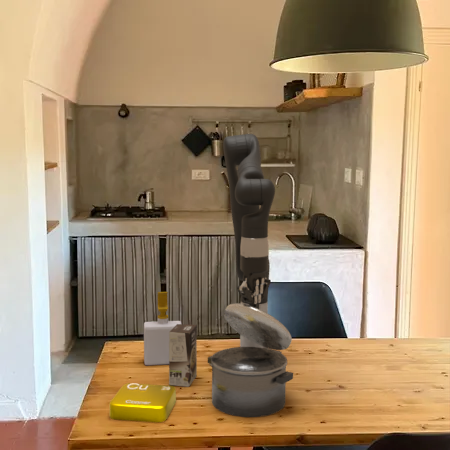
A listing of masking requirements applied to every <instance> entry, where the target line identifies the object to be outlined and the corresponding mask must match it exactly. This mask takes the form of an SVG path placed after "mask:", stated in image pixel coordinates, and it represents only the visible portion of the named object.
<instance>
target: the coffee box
mask: <svg viewBox="0 0 450 450" xmlns="http://www.w3.org/2000/svg"><path fill="white" fill-rule="evenodd" d="M197 328H198V327H197V324H188V323H187V324H182V323H181V324H177V325H176V326H175V327H174V328H173V329H172V330H171V331H170V332H169V364H168V386H179V387H186V388H188V387H190V386H191V385H192V383H193V381H194V380H195V379H196V377H197V372H198V371H197V366H198V365H197V364H198V363H197V361H198V359H197V357H198V356H197V355H198V352H197V348H198V347H197V346H198V344H197V343H198V342H197V341H198V339H197V337H198V336H197V334H198V333H197Z"/></svg>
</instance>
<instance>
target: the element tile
mask: <svg viewBox="0 0 450 450" xmlns="http://www.w3.org/2000/svg"><path fill="white" fill-rule="evenodd" d="M176 391H177V389H176V387H175V385H169V384H168V385H163V384H150V383H135V382H134V383H133V382H132V383H130V382H127V383H125V384H124V383H123V385H122V386H121V387H120V388H119V389H118V391H117V392H116V393H115V395H114V396H113V397H112V399H110V401H109V419H111V420H116V421H130V422H131V421H133V422H144V423H145V422H146V423H162V422H163V421H164V422H166V421H167V420H168V418H169V416H170V414H171V412H172V410H173V408H174V407H175V404H176V401H177V394H176V393H177V392H176ZM166 419H167V420H166Z"/></svg>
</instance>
